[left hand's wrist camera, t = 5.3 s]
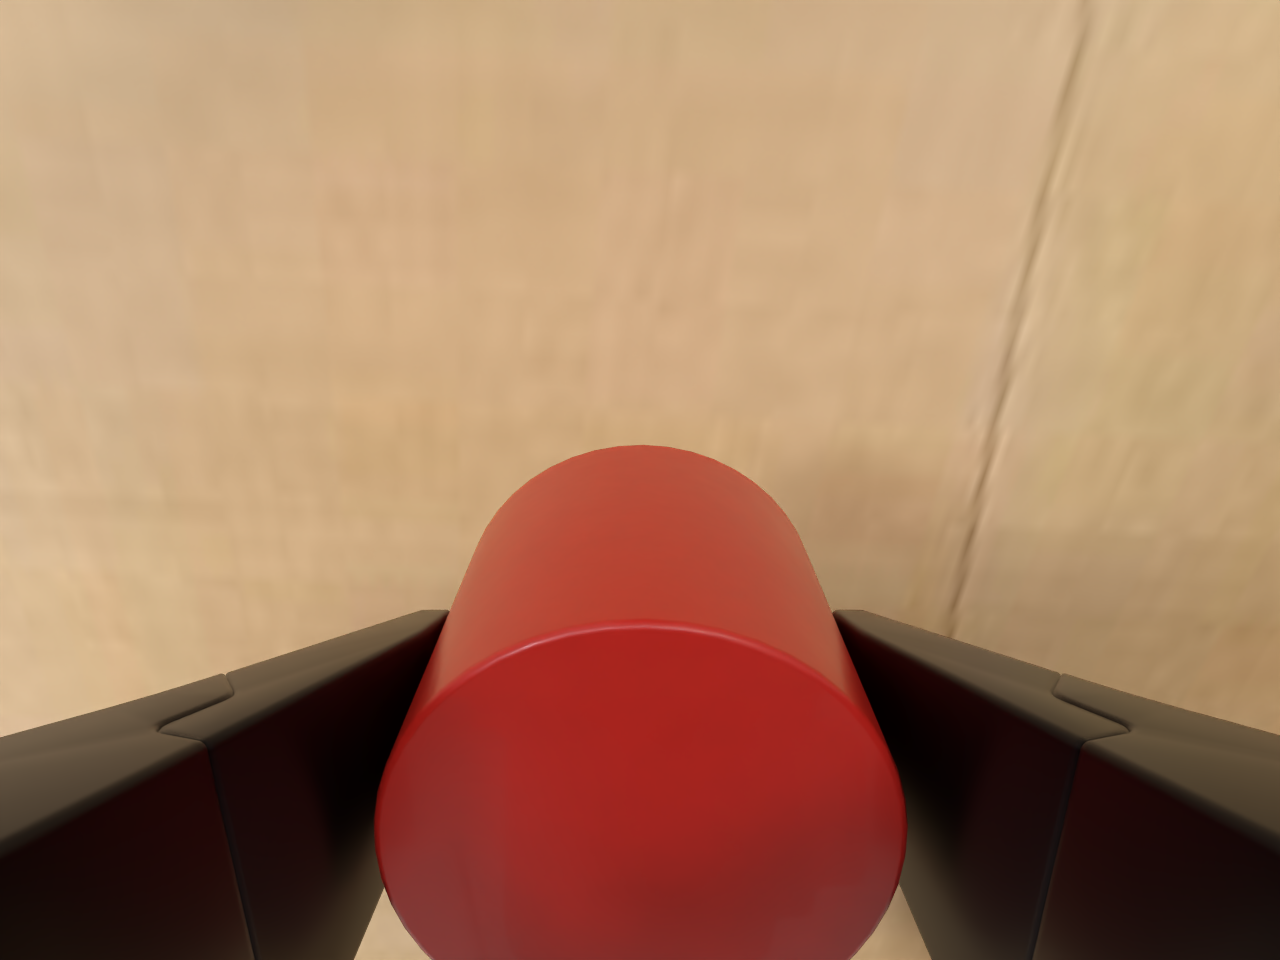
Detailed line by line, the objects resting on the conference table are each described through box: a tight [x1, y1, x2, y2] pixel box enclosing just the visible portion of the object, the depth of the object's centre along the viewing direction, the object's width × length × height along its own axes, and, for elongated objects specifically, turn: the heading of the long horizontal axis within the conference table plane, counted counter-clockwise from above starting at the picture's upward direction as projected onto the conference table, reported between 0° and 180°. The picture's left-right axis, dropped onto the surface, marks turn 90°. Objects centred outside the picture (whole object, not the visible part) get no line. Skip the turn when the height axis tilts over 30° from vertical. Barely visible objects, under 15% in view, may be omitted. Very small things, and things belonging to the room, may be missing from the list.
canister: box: [374, 445, 908, 960], centre depth 10 cm, size 5×5×5 cm
